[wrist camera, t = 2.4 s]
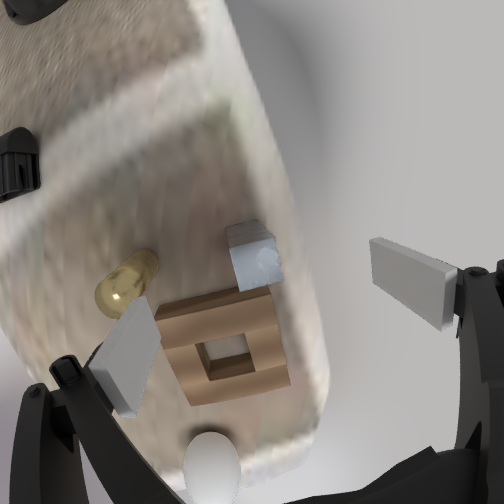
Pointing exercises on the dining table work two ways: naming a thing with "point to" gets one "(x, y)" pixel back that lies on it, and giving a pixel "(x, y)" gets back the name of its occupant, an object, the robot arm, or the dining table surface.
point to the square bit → (253, 255)
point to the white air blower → (212, 469)
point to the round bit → (126, 283)
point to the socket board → (220, 326)
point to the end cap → (18, 164)
